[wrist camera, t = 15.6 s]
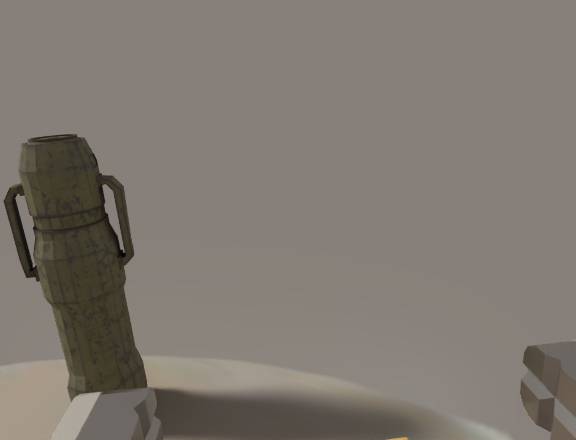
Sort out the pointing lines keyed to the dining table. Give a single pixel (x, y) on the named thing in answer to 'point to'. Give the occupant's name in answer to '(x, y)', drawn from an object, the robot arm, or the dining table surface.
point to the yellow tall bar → (399, 439)
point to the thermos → (78, 260)
